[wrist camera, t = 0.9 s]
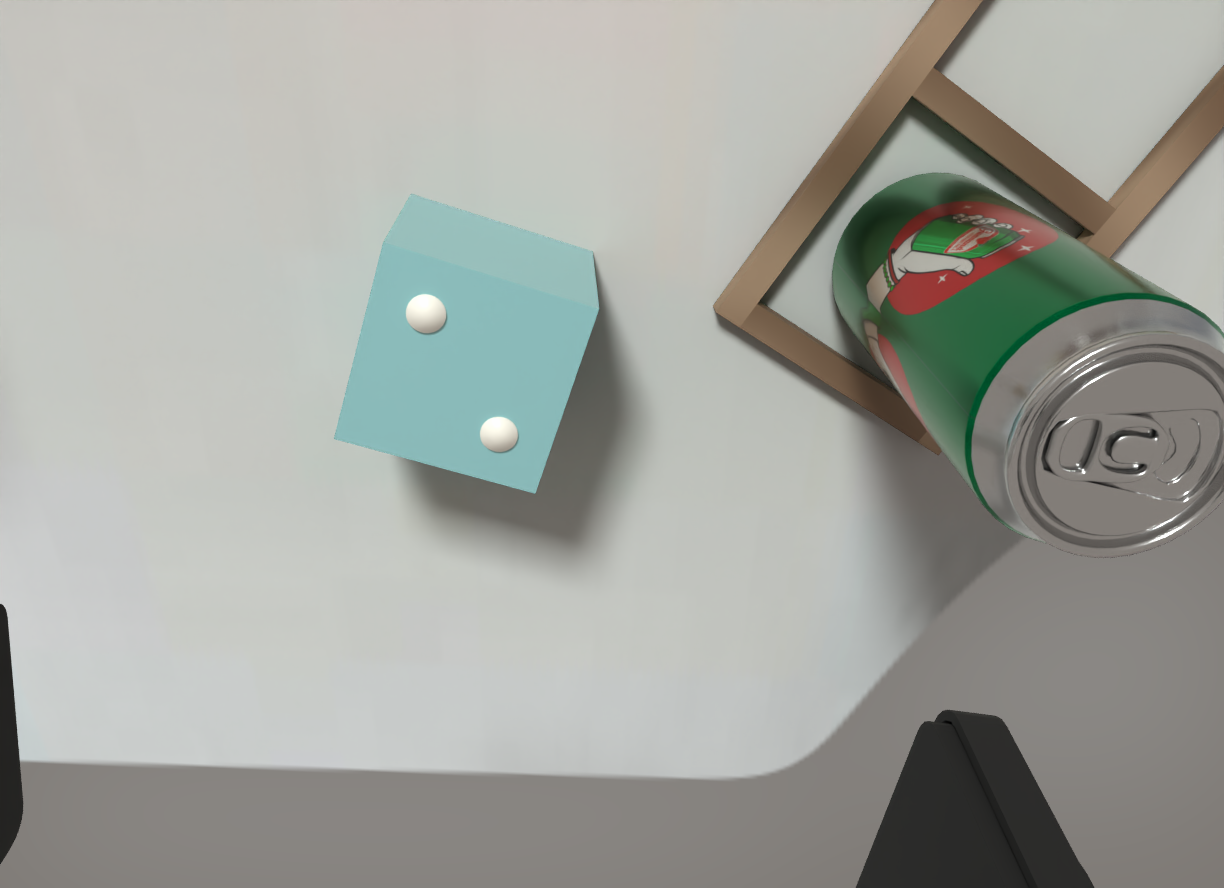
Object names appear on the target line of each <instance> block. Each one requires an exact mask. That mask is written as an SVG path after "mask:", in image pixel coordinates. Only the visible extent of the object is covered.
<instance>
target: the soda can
mask: <svg viewBox="0 0 1224 888" xmlns="http://www.w3.org/2000/svg"><path fill="white" fill-rule="evenodd" d="M832 281H833V291H834V296H835V301H836V303H837V306H838V308H839V311H840V313H841V315H842V317H843V318H844V320H845V322H846V323H847V325H848V326H849V327H850V329H851V330H852V331H853V333H854V334H855V335H856V337H857V338H858V339H859V341H860V342H861V343H862V345H863V346H864V347H865V349H866V350H867V351H868V353H869V354H870V355H871V357H872V358H873V359H874V361H875V362H876V363H877V365H878V366H879V367H880V369H881V370H882V371H883V373H884V374H885V375H886V377H887V378H888V379H889V381H890V382H891V383H892V385H893V386H894V387H895V389H896V390H897V391H898V393H899V394H900V395H901V397H902V398H903V399H904V401H905V402H906V403H907V405H908V406H909V407H910V409H911V410H912V411H913V413H914V414H915V415H916V417H917V418H918V419H919V421H920V422H921V423H922V425H923V426H924V427H925V429H926V430H927V431H928V433H929V434H930V435H931V437H932V438H933V439H934V441H935V442H936V443H937V445H938V446H939V447H940V449H941V450H942V451H943V453H944V454H945V455H946V457H947V458H948V459H949V461H950V462H951V463H952V465H953V466H954V467H955V469H956V470H957V471H958V473H959V474H960V475H961V477H962V478H963V479H964V481H965V482H966V483H967V485H968V486H969V487H970V489H971V490H972V491H973V493H974V494H975V495H976V497H977V498H978V499H979V501H980V502H981V503H982V505H983V506H984V507H985V508H986V509H987V510H988V511H989V512H990V513H991V514H992V516H993V517H994V518H995V519H997V520H998V521H999V522H1001V523H1002V524H1003V525H1005V526H1006V527H1007V528H1009V529H1010V530H1012V531H1014V532H1016V533H1018V534H1020V535H1022V536H1024V537H1027V538H1030V539H1034V540H1037V541H1040V542H1043V543H1048V544H1050V545H1052V546H1054V547H1056V548H1058V549H1060V550H1062V551H1066V552H1069V553H1072V554H1075V555H1080V556H1087V557H1094V558H1109V557H1110V558H1113V557H1120V556H1128V555H1133V554H1137V553H1141V552H1144V551H1148V550H1151V549H1153V548H1156V547H1158V546H1161V545H1163V544H1166V543H1168V542H1169V541H1172V540H1174V539H1176V538H1177V537H1179V536H1181V535H1183V534H1185V533H1186V532H1187V531H1189V530H1190V529H1192V528H1193V527H1195V526H1196V525H1198V524H1199V523H1200V522H1202V520H1204V519H1205V518H1206V517H1207V516H1208V515H1210V514H1211V513H1212V512H1213V511H1214V510H1215V509H1216V508H1217V507H1218V506H1219V504H1221V502H1222V501H1223V500H1224V333H1223V332H1222V330H1221V329H1220V328H1219V326H1217V325H1216V324H1215V323H1214V322H1213V321H1212V320H1211V319H1210V318H1209V317H1208V316H1206V315H1205V314H1204V313H1203V312H1201V311H1199V310H1198V309H1196V308H1194V307H1193V306H1191V305H1189V304H1188V303H1186V302H1184V301H1182V300H1181V299H1179V298H1177V297H1175V296H1174V295H1172V294H1170V293H1169V292H1167V291H1165V290H1163V289H1162V288H1160V287H1158V286H1156V285H1155V284H1153V283H1151V282H1150V281H1148V280H1146V279H1144V278H1143V277H1141V276H1139V275H1137V274H1136V273H1134V272H1132V271H1131V270H1129V269H1127V268H1125V267H1124V266H1122V265H1120V264H1119V263H1117V262H1115V261H1113V260H1112V259H1110V258H1108V257H1106V256H1105V255H1103V254H1101V253H1100V252H1098V251H1096V250H1094V249H1093V248H1091V247H1089V246H1087V245H1086V244H1084V243H1082V242H1081V241H1079V240H1077V239H1075V238H1074V237H1072V236H1070V235H1069V234H1067V233H1065V232H1063V231H1062V230H1060V229H1058V228H1056V227H1055V226H1053V225H1051V224H1050V223H1048V222H1046V221H1044V220H1043V219H1041V218H1039V217H1037V216H1036V215H1034V214H1032V213H1031V212H1029V211H1027V210H1025V209H1024V208H1022V207H1020V206H1018V205H1017V204H1015V203H1013V202H1012V201H1010V200H1008V199H1006V198H1005V197H1003V196H1001V195H1000V194H998V193H996V192H994V191H993V190H991V189H989V188H987V187H986V186H984V185H982V184H981V183H979V182H977V181H975V180H972V179H970V178H967V177H964V176H961V175H956V174H950V173H928V174H921V175H916V176H912V177H909V178H906V179H902V180H900V181H898V182H896V183H894V184H892V185H890V186H888V187H886V188H885V189H883V190H882V191H880V192H879V193H877V194H876V195H874V196H873V197H872V198H871V199H870V200H869V201H867V202H866V203H865V204H864V205H863V206H862V207H861V208H860V209H859V211H858V212H857V213H856V214H855V215H854V217H853V218H852V219H851V221H850V222H849V224H848V226H847V227H846V229H845V230H844V232H843V235H842V237H841V239H840V241H839V243H838V246H837V250H836V253H835V257H834V263H833V271H832Z"/></svg>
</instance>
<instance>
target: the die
mask: <svg viewBox="0 0 1224 888" xmlns="http://www.w3.org/2000/svg"><path fill="white" fill-rule="evenodd" d="M598 311H599V302H598V294H597V285H596V276H595V267H594V259H593V251H589V250H586V249H583V248H580V247H577V246H574V245H571V244H567V243H564V242H561V241H558V240H555V239H552V238H549V237H545V236H542V235H539V234H536V233H533V232H530V231H527V230H523V229H520V228H517V227H514V226H511V225H508V224H505V223H501V222H498V221H495V220H492V219H489V218H486V217H483V216H480V215H476V214H473V213H470V212H467V211H464V210H461V209H458V208H454V207H451V206H448V205H445V204H442V203H439V202H436V201H432V200H429V199H426V198H423V197H420V196H417V195H414V194H411V195H410V197H409V198H408V200H407V202H406V204H405V205H404V207H403V209H402V210H401V212H400V214H399V216H398V217H397V219H396V221H395V223H394V224H393V226H392V228H391V230H390V231H389V233H388V235H387V237H386V238H385V240H384V242H383V245H382V249H381V253H380V257H379V261H378V265H377V269H376V273H375V277H374V281H373V285H372V289H371V293H370V297H369V301H368V305H367V309H366V313H365V317H364V321H363V325H362V329H361V333H360V337H359V341H358V345H357V349H356V353H355V357H354V361H353V365H352V369H351V373H350V377H349V381H348V385H347V389H346V393H345V397H344V401H343V405H342V409H341V413H340V417H339V421H338V425H337V429H336V433H335V437H334V439H336V440H340V441H344V442H347V443H351V444H355V445H358V446H362V447H366V448H369V449H373V450H377V451H380V452H384V453H388V454H391V455H395V456H399V457H402V458H406V459H410V460H413V461H417V462H421V463H424V464H428V465H432V466H435V467H439V468H443V469H446V470H450V471H454V472H457V473H461V474H465V475H468V476H472V477H476V478H479V479H483V480H487V481H490V482H494V483H498V484H501V485H505V486H509V487H512V488H516V489H520V490H523V491H527V492H531V493H534V494H535V493H536V490H537V487H538V485H539V482H540V479H541V476H542V473H543V470H544V467H545V464H546V461H547V458H548V456H549V453H550V450H551V447H552V444H553V441H554V438H555V435H556V432H557V430H558V427H559V424H560V421H561V418H562V415H563V412H564V409H565V406H566V404H567V401H568V398H569V395H570V392H571V389H572V386H573V383H574V380H575V378H576V375H577V372H578V369H579V366H580V363H581V360H582V357H583V354H584V352H585V349H586V346H587V343H588V340H589V337H590V334H591V331H592V328H593V326H594V323H595V320H596V317H597V314H598Z"/></svg>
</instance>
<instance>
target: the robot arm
mask: <svg viewBox="0 0 1224 888" xmlns="http://www.w3.org/2000/svg"><path fill="white" fill-rule="evenodd" d="M22 814H23V796H22V783H21V772H20V760H19V748H18V736H17V724H16V712H15V700H14V689H13V677H12V665H11V653H10V641H9V629H8V617H7V612H6V609H5V607H4V606H3V605H2V604H0V864H1V862H2V861H3V859H4V858H5V856H6V854H7V853H8V851H9V849H10V848H11V846H12V844H13V842H14V840H15V838H16V836H17V833H18V831H19V827H20V824H21V820H22ZM856 888H1094V886H1093V884H1092V882H1091V880H1090V879H1089V877H1088V875H1087V873H1086V872H1085V870H1084V869H1083V867H1082V866H1081V864H1080V863H1079V862H1078V860H1077V858H1076V856H1075V854H1074V852H1073V850H1072V848H1071V847H1070V845H1069V843H1068V841H1067V839H1066V837H1065V835H1064V833H1063V831H1062V829H1061V828H1060V826H1059V824H1058V822H1057V820H1056V818H1055V816H1054V814H1053V813H1052V811H1051V809H1050V807H1049V805H1048V803H1047V801H1046V799H1045V798H1044V796H1043V794H1042V792H1041V790H1040V788H1039V786H1038V784H1037V782H1036V780H1035V779H1034V777H1033V775H1032V773H1031V771H1030V769H1029V767H1028V765H1027V763H1026V762H1025V760H1024V758H1023V756H1022V754H1021V752H1020V750H1019V748H1018V747H1017V745H1016V743H1015V741H1014V739H1013V737H1012V735H1011V734H1010V731H1009V730H1008V728H1007V726H1006V725H1005V723H1004V722H1003V721H1002V719H1000V718H999V717H997V716H992V715H985V714H977V713H969V712H961V711H953V710H945V711H942V712H941V713H940V714H939V715H938V716H937V718H936V720H935V722H931V721H927V722H924V723H923V724H922V725H921V726H920V728H919V730H918V732H917V735H916V737H915V740H914V742H913V745H912V747H911V750H910V752H909V755H908V757H907V760H906V762H905V765H904V767H903V770H902V772H901V775H900V777H899V780H898V783H897V785H896V788H895V790H894V793H893V795H892V798H891V800H890V803H889V805H888V808H887V810H886V813H885V815H884V818H883V821H882V823H881V825H880V828H879V830H878V833H877V835H876V838H875V840H874V843H873V846H872V848H871V851H870V853H869V856H868V858H867V861H866V863H865V866H864V869H863V871H862V874H861V876H860V878H859V881H858V884H857V886H856Z"/></svg>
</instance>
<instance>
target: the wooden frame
mask: <svg viewBox="0 0 1224 888" xmlns="http://www.w3.org/2000/svg"><path fill="white" fill-rule="evenodd" d="M982 1H983V0H935V1H934V2H933V4H932V5H931V6H930V8H929V9H928V11H927V12H926V13H925V15H924V16H923V17H922V19H921V20H920V22H919V23H918V24H917V26H916V27H915V28H914V30H913V31H912V33H911V34H910V35H909V37H908V38H907V39H906V41H905V42H904V44H903V45H902V46H901V48H900V49H899V51H898V52H897V53H896V55H895V56H894V57H893V59H892V60H891V62H890V63H889V64H888V66H887V67H886V68H885V70H884V71H883V73H882V74H881V75H880V77H879V78H878V79H877V81H876V82H875V84H874V85H873V86H872V88H871V89H870V90H869V92H868V93H867V95H866V96H865V97H864V99H863V100H862V101H861V103H860V104H859V106H858V107H857V108H856V110H855V111H854V112H853V114H852V115H851V117H850V118H849V119H848V121H847V122H846V123H845V125H844V126H843V128H842V129H841V130H840V132H839V133H838V134H837V136H836V137H835V139H834V140H833V141H832V143H831V144H830V145H829V147H828V148H827V150H826V151H825V152H824V154H823V155H822V156H821V158H820V159H819V161H818V162H817V163H816V165H815V166H814V167H813V169H812V170H811V172H810V173H809V174H808V176H807V177H806V178H805V180H804V181H803V183H802V184H801V185H800V187H799V188H798V189H797V191H796V192H795V194H794V195H793V196H792V198H791V199H790V200H789V202H788V203H787V205H786V206H785V207H784V209H783V210H782V211H781V213H780V214H779V216H778V217H777V218H776V220H775V221H774V223H773V224H772V225H771V227H770V228H769V229H768V231H767V232H766V234H765V235H764V236H763V238H762V239H761V240H760V242H759V243H758V245H757V246H756V247H755V249H754V250H753V251H752V253H751V254H750V256H749V257H748V258H747V260H746V261H745V262H744V264H743V265H742V267H741V268H740V269H739V271H738V272H737V273H736V275H735V276H734V278H733V279H732V280H731V282H730V283H729V284H728V286H727V287H726V289H725V290H724V291H723V293H722V294H721V295H720V297H719V298H718V300H717V301H716V302H715V304H714V305H713V307H714V309H715V311H716V313H718V314H719V315H721V316H722V317H724V318H725V319H727V320H728V321H730V322H732V323H733V324H735V325H736V326H738V327H739V328H741V329H742V330H744V331H746V332H747V333H749V334H750V335H752V336H753V337H755V338H756V339H758V340H760V341H761V342H763V343H764V344H766V345H767V346H769V347H770V348H772V349H774V350H775V351H777V352H778V353H780V354H781V355H783V356H784V357H786V358H788V359H789V360H791V361H792V362H794V363H795V364H797V365H798V366H800V367H802V368H803V369H805V370H806V371H808V372H809V373H811V374H812V375H814V376H816V377H817V378H819V379H820V380H822V381H823V382H825V383H826V384H828V385H830V386H831V387H833V388H834V389H836V390H837V391H839V392H840V393H842V394H844V395H845V396H847V397H848V398H850V399H851V400H853V401H854V402H856V403H858V404H859V405H861V406H862V407H864V408H865V409H867V410H868V411H870V412H872V413H873V414H875V415H876V416H878V417H879V418H881V419H882V420H884V421H886V422H887V423H889V424H890V425H892V426H893V427H895V428H896V429H898V430H900V431H901V432H903V433H904V434H906V435H907V436H909V437H910V438H912V439H914V440H915V441H917V442H918V443H920V444H921V445H923V446H924V447H926V448H928V449H929V450H931V451H932V452H934V453H935V454H937V455H939V454H940V453H941V452H942V450H941V449H940V447H939V446H938V445H937V443H936V442H935V441H934V439H933V438H932V437H931V435H930V434H929V433H928V431H927V430H926V429H925V427H924V426H923V425H922V423H921V422H920V421H919V419H918V418H917V417H916V415H915V414H914V413H913V411H912V410H911V409H910V407H909V406H908V405H907V403H906V402H905V401H904V399H903V398H902V397H901V395H900V394H899V393H898V392H897V391H895V390H894V389H892V388H891V387H889V386H888V385H886V384H885V383H883V382H882V381H880V380H879V379H877V378H876V377H874V376H873V375H871V374H870V373H868V372H866V371H865V370H863V369H862V368H860V367H859V366H857V365H856V364H854V363H853V362H851V361H850V360H848V359H847V358H845V357H844V356H842V355H841V354H839V353H837V352H836V351H834V350H833V349H831V348H830V347H828V346H827V345H825V344H824V343H822V342H821V341H819V340H818V339H816V338H815V337H813V336H812V335H810V334H808V333H807V332H805V331H804V330H802V329H801V328H799V327H798V326H796V325H795V324H793V323H792V322H790V321H789V320H787V319H786V318H784V317H783V316H781V315H780V314H778V313H776V312H775V311H773V310H772V309H770V308H769V307H767V306H766V305H764V304H763V303H761V302H760V299H761V298H762V297H763V295H764V294H765V293H766V291H767V290H768V289H769V287H770V286H771V285H772V283H773V282H774V281H775V279H776V278H777V277H778V275H779V274H780V273H781V271H782V270H783V268H784V267H785V266H786V264H787V263H788V262H789V260H790V259H791V258H792V256H793V255H794V254H795V252H796V251H797V250H798V248H799V247H800V246H801V244H802V243H803V242H804V240H805V239H806V238H807V236H808V235H809V234H810V232H811V231H812V229H813V228H814V227H815V225H816V224H817V223H818V221H819V220H820V219H821V217H822V216H823V215H824V213H825V212H826V211H827V209H828V208H829V207H830V205H831V204H832V203H833V201H834V200H835V199H836V197H837V196H838V195H839V193H840V192H841V190H842V189H843V188H844V186H845V185H846V184H847V182H848V181H849V180H850V178H851V177H852V176H853V174H854V173H855V172H856V170H857V169H858V168H859V166H860V165H861V164H862V162H863V161H864V160H865V158H866V157H867V156H868V154H869V153H870V151H871V150H872V149H873V147H874V146H875V145H876V143H877V142H878V141H879V139H880V138H881V137H882V135H883V134H884V133H885V131H886V130H887V129H888V127H889V126H890V125H891V123H892V122H893V121H894V119H895V118H896V117H897V115H898V114H899V112H900V111H901V110H902V108H903V107H904V106H905V104H906V103H907V102H908V100H909V99H910V98H911V97H912V98H914V99H915V100H916V101H918V102H919V103H920V104H922V105H923V106H924V107H926V108H927V109H928V110H929V111H931V112H932V113H933V114H935V115H936V116H937V117H939V118H940V119H941V120H943V121H944V122H945V123H947V124H948V125H949V126H951V127H952V128H953V129H954V130H956V131H957V132H958V133H960V134H961V135H962V136H964V137H965V138H966V139H968V140H969V141H970V142H972V143H973V144H974V145H975V146H977V147H978V148H979V149H981V150H982V151H983V152H985V153H986V154H987V155H989V156H990V157H991V158H993V159H994V160H995V161H997V162H998V163H999V164H1000V165H1002V166H1003V167H1004V168H1006V169H1007V170H1008V171H1010V172H1011V173H1012V174H1014V175H1015V176H1016V177H1018V178H1019V179H1020V180H1022V181H1023V182H1024V183H1025V184H1027V185H1028V186H1029V187H1031V188H1032V189H1033V190H1035V191H1036V192H1037V193H1039V194H1040V195H1041V196H1043V197H1044V198H1045V199H1046V200H1048V201H1049V202H1050V203H1052V204H1053V205H1054V206H1056V207H1057V208H1058V209H1060V210H1061V211H1062V212H1064V213H1065V214H1066V215H1068V216H1069V217H1070V218H1071V219H1073V220H1074V221H1075V222H1077V223H1078V224H1079V225H1081V226H1082V227H1083V228H1085V229H1084V231H1083V232H1082V233H1081V234H1080V235H1079V237H1078V238H1077V240H1079V241H1081V242H1082V243H1084V244H1086V245H1087V246H1089V247H1091V248H1093V249H1094V250H1096V251H1098V252H1100V253H1101V254H1103V255H1105V256H1106V257H1108V258H1110V257H1111V256H1112V254H1113V253H1114V252H1115V251H1116V250H1117V249H1118V247H1119V246H1120V245H1121V244H1122V243H1123V242H1124V241H1125V239H1126V238H1127V237H1128V236H1129V235H1130V234H1131V232H1132V231H1133V230H1134V229H1135V228H1136V227H1137V226H1138V224H1139V223H1140V222H1141V221H1142V220H1143V219H1144V217H1145V216H1146V215H1147V214H1148V213H1149V212H1150V211H1151V209H1152V208H1153V207H1154V206H1155V205H1156V204H1157V202H1158V201H1159V200H1160V199H1161V198H1162V197H1163V196H1164V194H1165V193H1166V192H1167V191H1168V190H1169V189H1170V187H1171V186H1172V185H1173V184H1174V183H1175V182H1176V181H1177V179H1178V178H1179V177H1180V176H1181V175H1182V174H1183V172H1184V171H1185V170H1186V169H1187V168H1188V167H1189V166H1190V164H1191V163H1192V162H1193V161H1194V160H1195V159H1196V158H1197V156H1198V155H1199V154H1200V153H1201V152H1202V151H1203V149H1204V148H1205V147H1206V146H1207V145H1208V144H1209V143H1210V141H1211V140H1212V139H1213V138H1214V137H1215V136H1216V134H1217V133H1218V132H1219V131H1220V130H1221V129H1222V128H1223V126H1224V66H1223V67H1222V68H1221V69H1220V70H1219V71H1218V73H1217V74H1216V75H1215V76H1214V77H1213V78H1212V80H1211V81H1210V82H1209V83H1208V84H1207V86H1206V87H1205V88H1204V89H1203V90H1202V91H1201V93H1200V94H1199V95H1198V96H1197V97H1196V99H1195V100H1194V101H1193V102H1192V103H1191V104H1190V106H1189V107H1188V108H1187V109H1186V110H1185V112H1184V113H1183V114H1182V115H1181V116H1180V117H1179V119H1178V120H1177V121H1176V122H1175V123H1174V124H1173V126H1172V127H1171V128H1170V129H1169V130H1168V132H1167V133H1166V134H1165V135H1164V136H1163V137H1162V139H1161V140H1160V141H1159V142H1158V143H1157V145H1156V146H1155V147H1154V148H1153V149H1152V150H1151V152H1150V153H1149V154H1148V155H1147V156H1146V158H1145V159H1144V160H1143V161H1142V162H1141V163H1140V165H1139V166H1138V167H1137V168H1136V169H1135V170H1134V172H1133V173H1132V174H1131V175H1130V176H1129V178H1128V179H1127V180H1126V181H1125V182H1124V183H1123V185H1122V186H1121V187H1120V188H1119V189H1118V191H1117V192H1116V193H1115V194H1114V195H1113V196H1112V198H1111V199H1110V200H1109V201H1108V202H1106V201H1105V200H1104V199H1102V198H1101V197H1100V196H1099V195H1097V194H1096V193H1095V192H1093V191H1092V190H1091V189H1090V188H1088V187H1087V186H1086V185H1084V184H1083V183H1082V182H1081V181H1079V180H1078V179H1077V178H1075V177H1074V176H1073V175H1072V174H1070V173H1069V172H1068V171H1066V170H1065V169H1064V168H1063V167H1061V166H1060V165H1059V164H1057V163H1056V162H1055V161H1053V160H1052V159H1051V158H1050V157H1048V156H1047V155H1046V154H1044V153H1043V152H1042V151H1041V150H1039V149H1038V148H1037V147H1035V146H1034V145H1033V144H1032V143H1030V142H1029V141H1028V140H1026V139H1025V138H1024V137H1023V136H1021V135H1020V134H1019V133H1017V132H1016V131H1015V130H1014V129H1012V128H1011V127H1010V126H1008V125H1007V124H1006V123H1005V122H1003V121H1002V120H1001V119H999V118H998V117H997V116H996V115H994V114H993V113H992V112H990V111H989V110H988V109H987V108H985V107H984V106H983V105H981V104H980V103H979V102H978V101H976V100H975V99H974V98H972V97H971V96H970V95H969V94H967V93H966V92H965V91H963V90H962V89H961V88H959V87H958V86H957V85H956V84H954V83H953V82H952V81H950V80H949V79H948V78H947V77H945V76H944V75H943V74H941V73H940V72H939V71H938V70H936V69H935V68H934V65H935V64H936V63H937V61H938V60H939V59H940V57H941V56H942V55H943V53H944V52H945V51H946V49H947V48H948V47H949V45H950V44H951V43H952V41H953V40H954V39H955V37H956V36H957V34H958V33H959V32H960V30H961V29H962V28H963V26H964V25H965V24H966V22H967V21H968V20H969V18H970V17H971V16H972V14H973V13H974V12H975V10H976V9H977V8H978V6H979V5H980V4H981V2H982Z"/></svg>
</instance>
